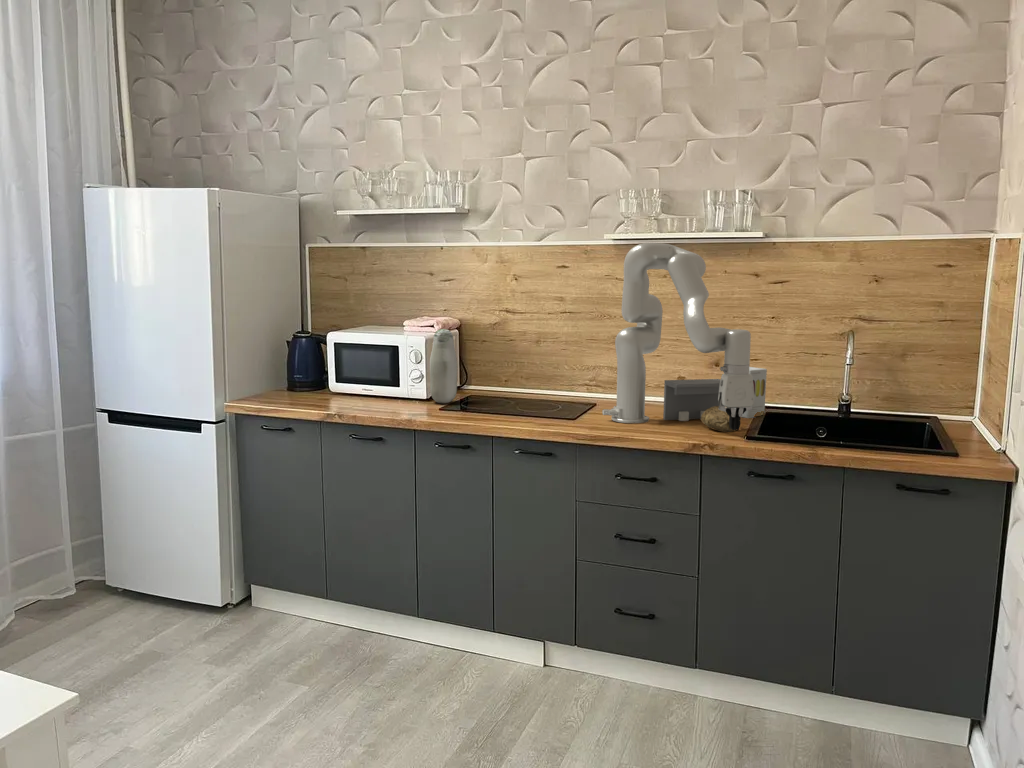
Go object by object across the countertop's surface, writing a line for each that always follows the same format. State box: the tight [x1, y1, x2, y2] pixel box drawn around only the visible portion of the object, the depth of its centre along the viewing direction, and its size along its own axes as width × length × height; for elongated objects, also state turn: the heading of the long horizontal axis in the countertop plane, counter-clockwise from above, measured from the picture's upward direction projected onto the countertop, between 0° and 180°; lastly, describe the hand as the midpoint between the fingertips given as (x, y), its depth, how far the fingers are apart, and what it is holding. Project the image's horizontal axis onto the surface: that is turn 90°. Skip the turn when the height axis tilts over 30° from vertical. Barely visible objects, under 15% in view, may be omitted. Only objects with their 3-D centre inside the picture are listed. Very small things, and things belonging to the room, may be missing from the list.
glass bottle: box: [429, 328, 458, 404], centre depth 315 cm, size 10×10×28 cm
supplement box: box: [735, 366, 768, 419], centre depth 294 cm, size 10×9×17 cm
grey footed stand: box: [662, 378, 721, 422], centre depth 283 cm, size 20×10×14 cm, turn 103°
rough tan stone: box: [700, 406, 742, 433], centre depth 270 cm, size 13×8×20 cm
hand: (734, 428), depth 258 cm, fingers closed
